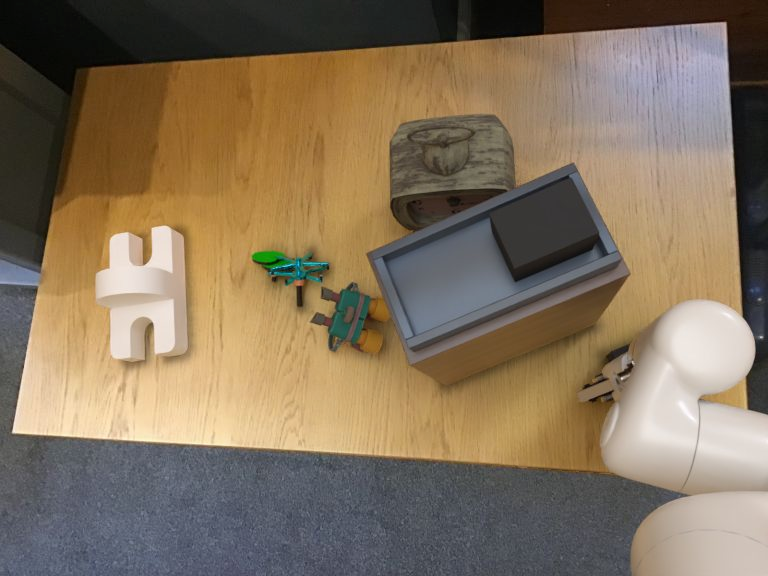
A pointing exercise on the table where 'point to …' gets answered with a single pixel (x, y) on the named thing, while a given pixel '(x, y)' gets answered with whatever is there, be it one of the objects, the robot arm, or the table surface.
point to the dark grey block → (543, 229)
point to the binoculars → (353, 319)
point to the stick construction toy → (278, 262)
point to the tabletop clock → (448, 167)
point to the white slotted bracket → (145, 294)
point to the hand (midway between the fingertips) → (640, 373)
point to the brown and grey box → (489, 289)
